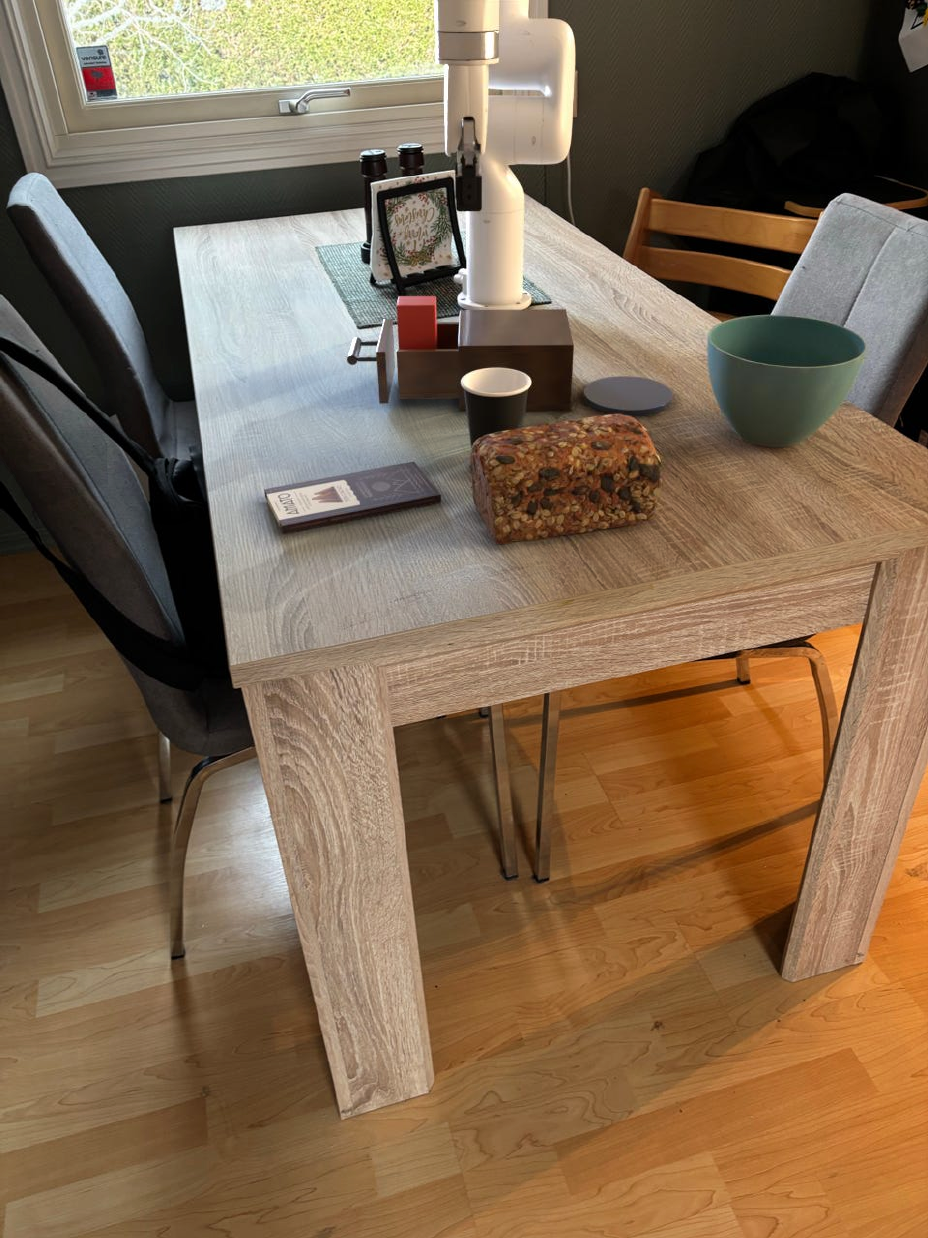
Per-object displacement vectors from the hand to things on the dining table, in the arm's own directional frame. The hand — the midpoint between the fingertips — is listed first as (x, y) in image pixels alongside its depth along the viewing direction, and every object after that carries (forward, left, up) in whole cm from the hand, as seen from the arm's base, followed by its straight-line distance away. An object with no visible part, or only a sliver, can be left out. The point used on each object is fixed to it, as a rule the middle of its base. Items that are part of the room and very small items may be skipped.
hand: (468, 202), depth 125 cm
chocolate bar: (+16, -35, -24) cm, 45 cm away
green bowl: (+40, +14, -24) cm, 49 cm away
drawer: (-2, -8, -23) cm, 24 cm away
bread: (+35, -20, -24) cm, 47 cm away
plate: (+20, +10, -24) cm, 33 cm away
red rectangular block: (-2, -8, -22) cm, 23 cm away
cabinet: (+7, +1, -24) cm, 25 cm away
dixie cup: (+22, -18, -24) cm, 37 cm away
